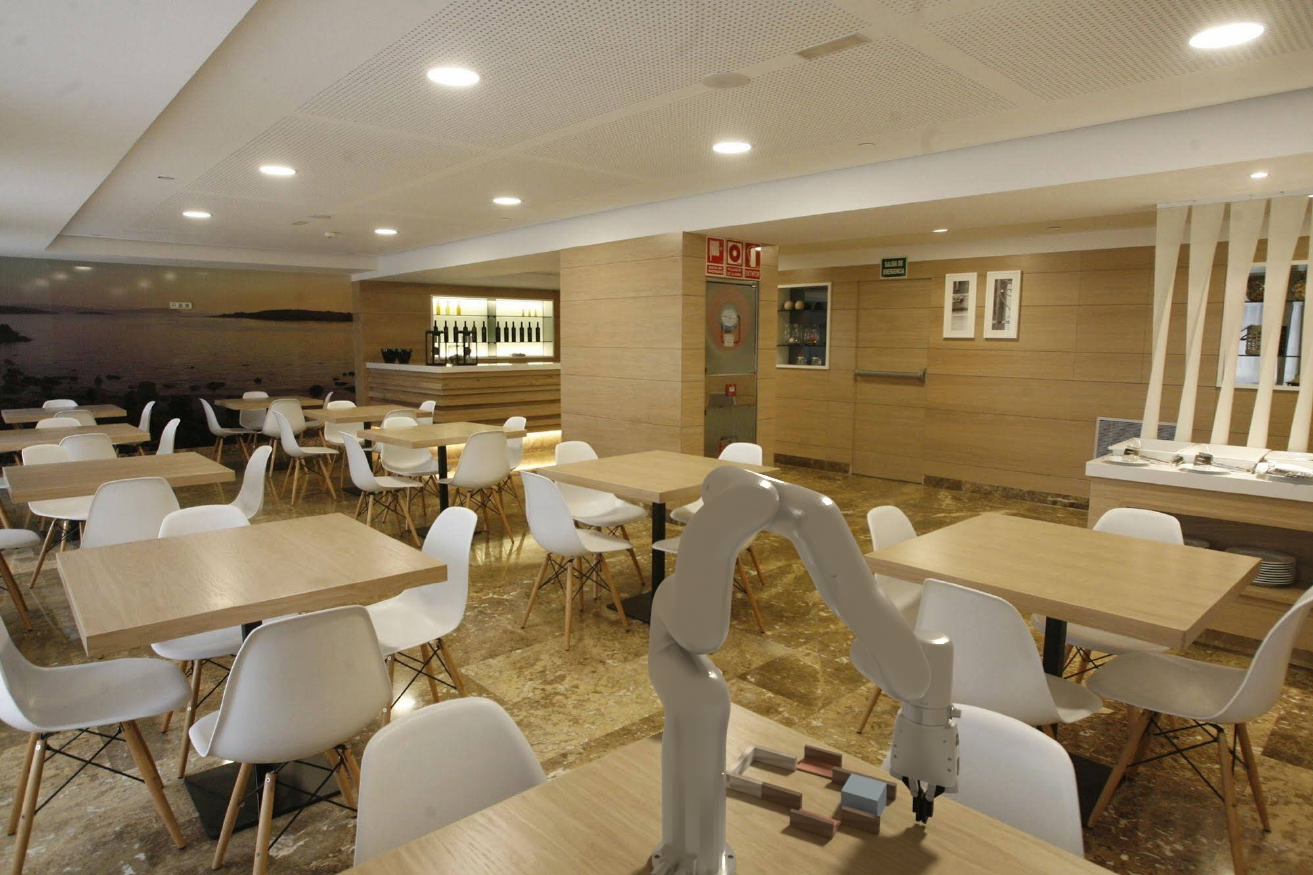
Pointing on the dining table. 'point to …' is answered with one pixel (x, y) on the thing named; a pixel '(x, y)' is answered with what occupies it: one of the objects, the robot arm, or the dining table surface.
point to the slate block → (864, 794)
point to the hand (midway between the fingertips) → (922, 818)
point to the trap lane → (813, 763)
